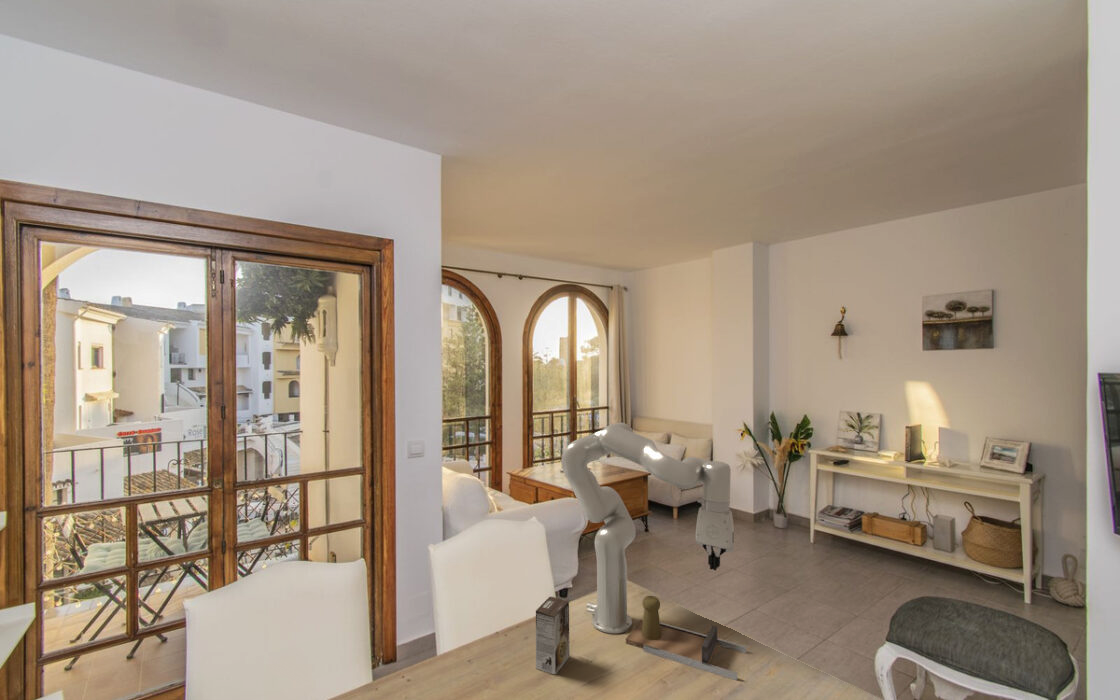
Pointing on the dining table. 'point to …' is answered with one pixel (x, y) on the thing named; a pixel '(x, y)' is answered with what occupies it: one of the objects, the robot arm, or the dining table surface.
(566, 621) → the coffee box
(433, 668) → the dining table surface
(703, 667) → the rails
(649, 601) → the cork
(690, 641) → the brown tray
